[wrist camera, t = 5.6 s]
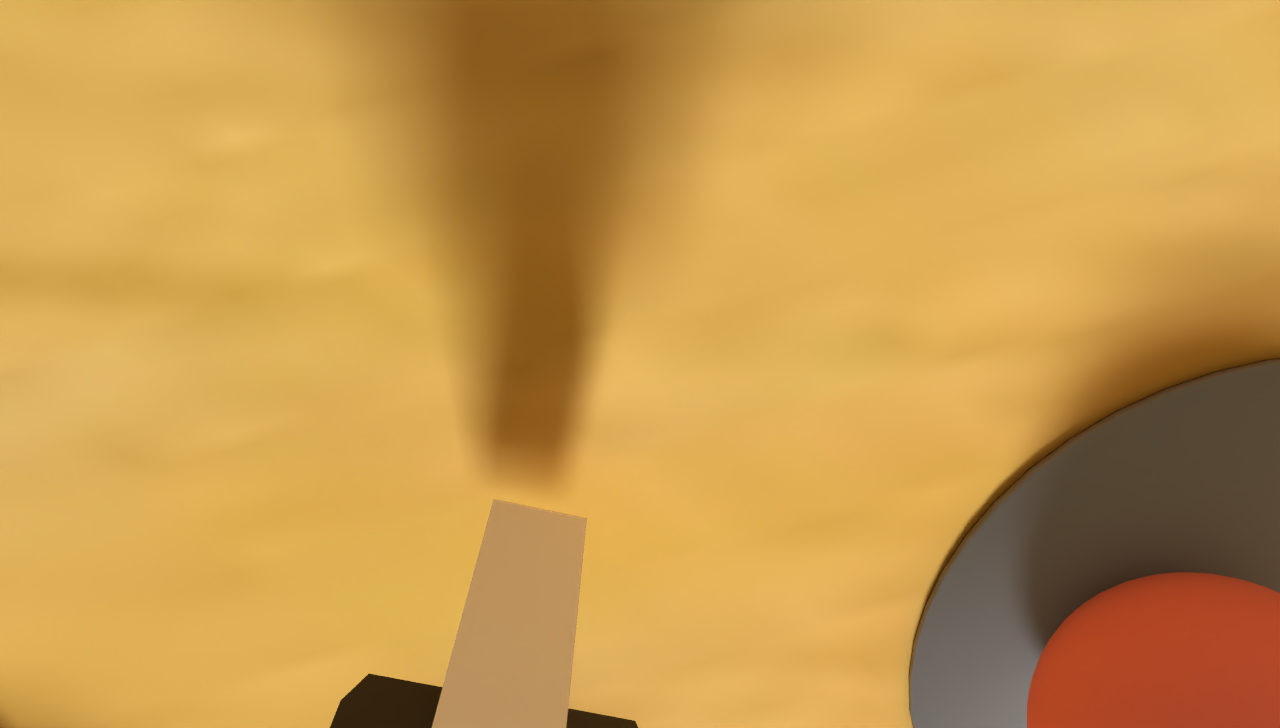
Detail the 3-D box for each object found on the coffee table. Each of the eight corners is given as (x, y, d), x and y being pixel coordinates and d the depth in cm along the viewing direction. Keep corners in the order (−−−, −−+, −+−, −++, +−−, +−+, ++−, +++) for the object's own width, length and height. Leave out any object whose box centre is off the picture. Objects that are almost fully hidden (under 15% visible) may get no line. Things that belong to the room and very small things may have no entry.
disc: (776, 729, 19) (777, 736, 19) (1280, 204, 15) (1288, 207, 14) (1220, 963, 22) (1225, 971, 22) (1752, 585, 17) (1765, 591, 17)
